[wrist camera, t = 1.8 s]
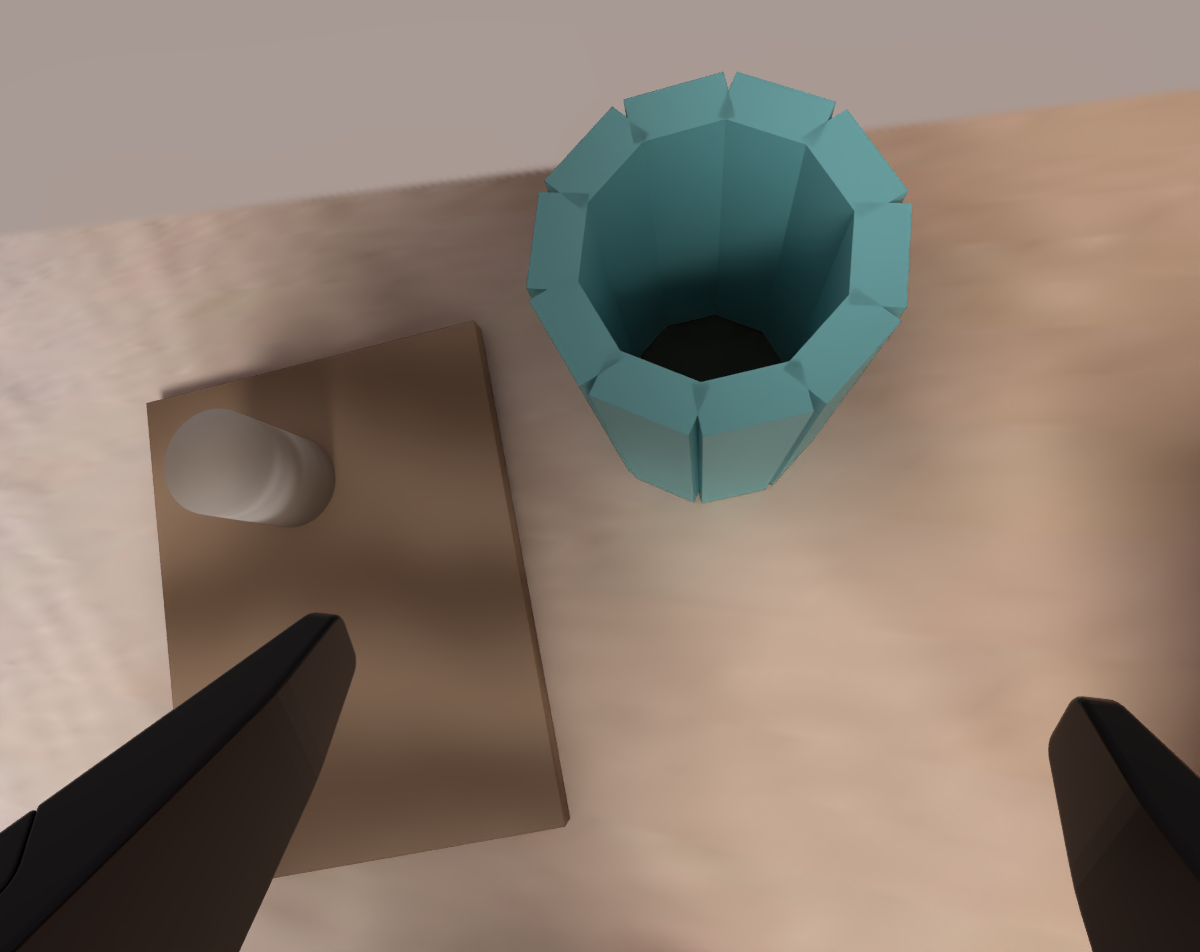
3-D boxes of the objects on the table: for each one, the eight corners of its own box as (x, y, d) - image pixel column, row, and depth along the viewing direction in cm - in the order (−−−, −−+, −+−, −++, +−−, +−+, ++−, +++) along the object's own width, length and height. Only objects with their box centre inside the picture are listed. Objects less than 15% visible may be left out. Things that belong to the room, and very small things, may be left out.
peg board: (569, 818, 22) (533, 880, 17) (206, 882, 23) (80, 957, 18) (480, 329, 25) (429, 267, 20) (163, 408, 26) (44, 368, 21)
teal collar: (849, 471, 22) (965, 376, 12) (620, 521, 23) (561, 468, 13) (793, 265, 24) (859, 33, 14) (578, 319, 24) (496, 135, 15)
